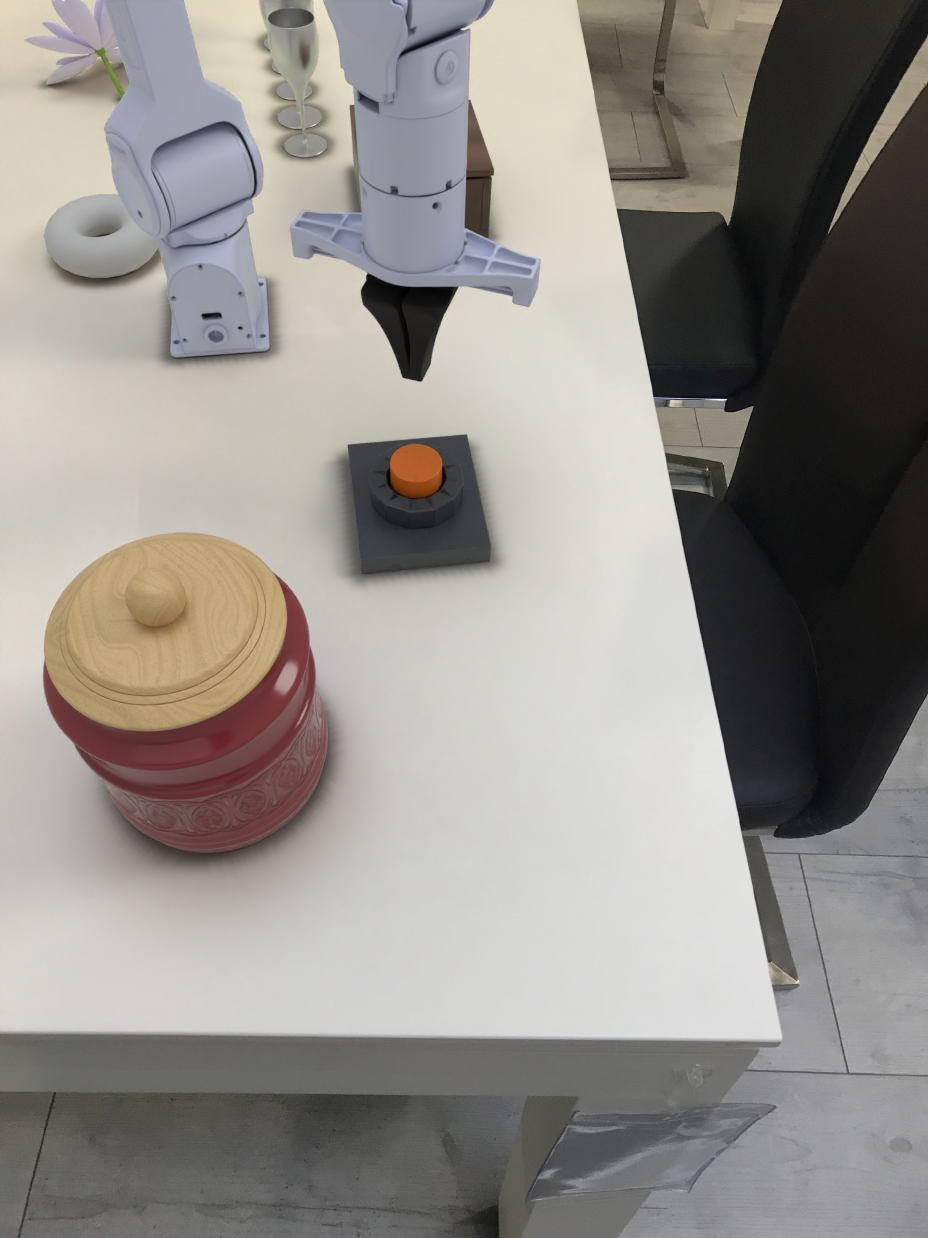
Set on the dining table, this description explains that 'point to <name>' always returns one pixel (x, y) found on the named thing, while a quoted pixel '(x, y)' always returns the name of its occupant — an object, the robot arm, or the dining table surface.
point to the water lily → (80, 40)
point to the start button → (416, 471)
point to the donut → (97, 238)
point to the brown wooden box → (474, 198)
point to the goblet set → (294, 67)
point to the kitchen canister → (189, 689)
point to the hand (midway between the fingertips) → (416, 370)
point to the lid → (476, 146)
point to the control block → (417, 510)
